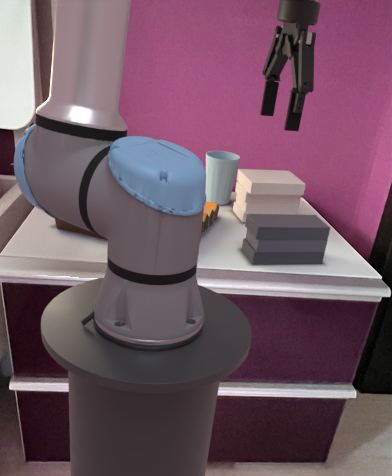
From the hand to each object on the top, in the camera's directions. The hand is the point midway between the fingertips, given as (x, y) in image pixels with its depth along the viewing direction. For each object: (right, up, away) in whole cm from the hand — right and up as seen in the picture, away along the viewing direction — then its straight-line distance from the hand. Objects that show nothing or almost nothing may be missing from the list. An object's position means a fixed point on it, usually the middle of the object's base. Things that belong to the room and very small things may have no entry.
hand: (278, 122), depth 112 cm
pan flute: (-28, -20, +2) cm, 34 cm away
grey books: (0, -28, -6) cm, 28 cm away
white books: (-1, -16, +12) cm, 20 cm away
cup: (-12, -11, +18) cm, 24 cm away
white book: (-1, -10, +9) cm, 14 cm away
